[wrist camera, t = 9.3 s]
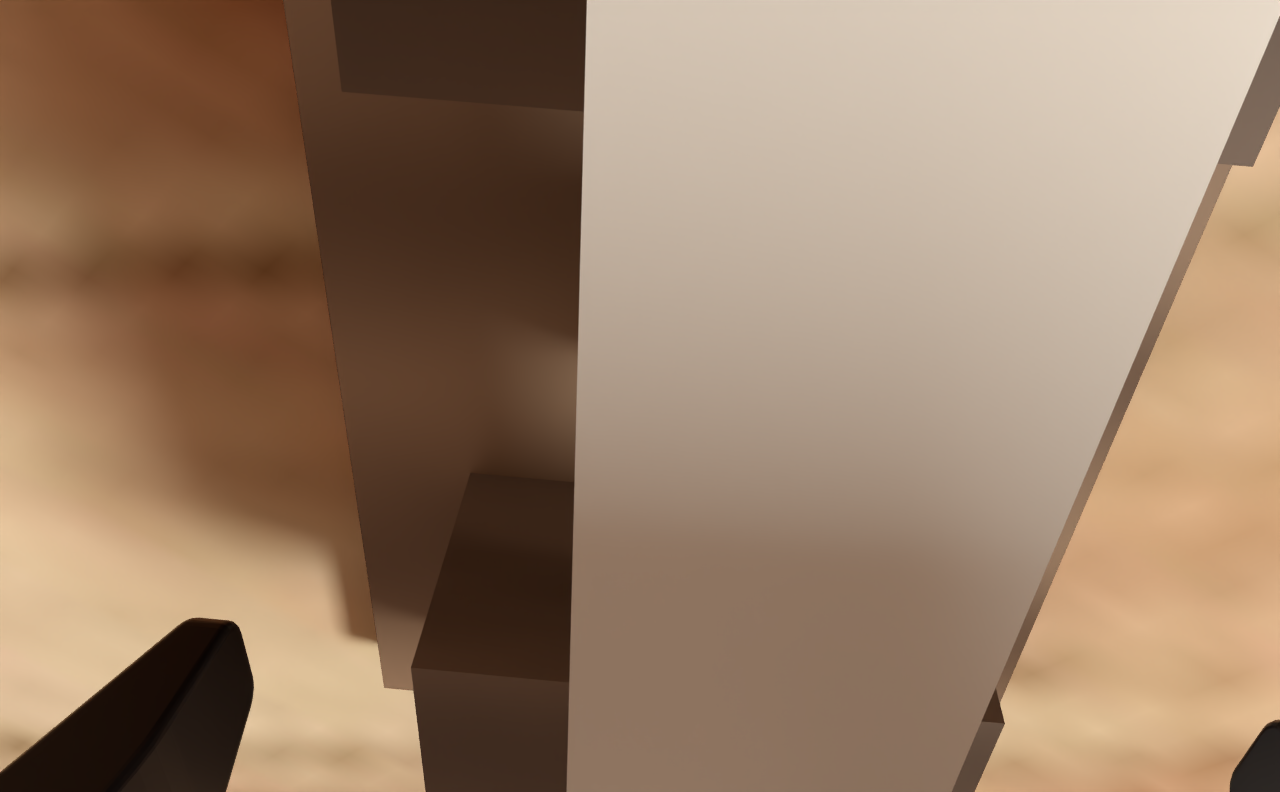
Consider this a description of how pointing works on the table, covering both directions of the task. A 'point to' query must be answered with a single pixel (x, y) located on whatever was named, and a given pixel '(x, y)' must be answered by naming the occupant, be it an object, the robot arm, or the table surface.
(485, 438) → the display stand
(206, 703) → the robot arm
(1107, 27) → the frame bar
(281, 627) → the table surface
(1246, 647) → the table surface
